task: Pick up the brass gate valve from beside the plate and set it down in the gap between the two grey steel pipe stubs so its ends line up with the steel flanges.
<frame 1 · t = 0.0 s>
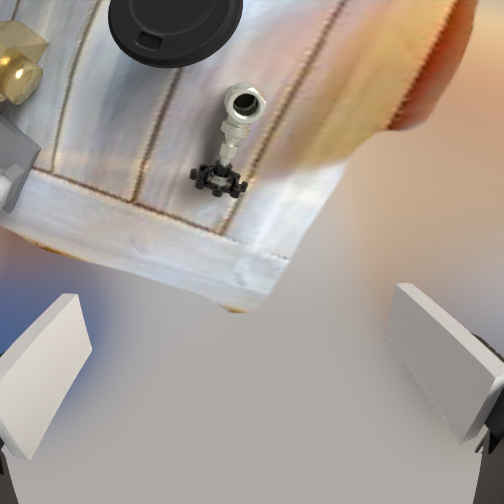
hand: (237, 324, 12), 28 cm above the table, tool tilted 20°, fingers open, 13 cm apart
coffee cup: (194, 24, 26), on the table
valve: (232, 127, 34), on the table
brass gate valve: (17, 57, 24), on the table
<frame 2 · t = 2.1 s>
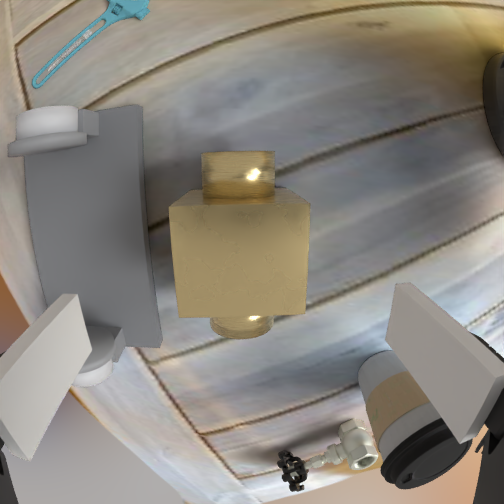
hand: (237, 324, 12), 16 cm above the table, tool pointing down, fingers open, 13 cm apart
coffee cup: (380, 369, 33), on the table
pipe run plate: (89, 235, 26), on the table
valve: (324, 437, 36), on the table
brass gate valve: (239, 228, 27), on the table
adjustable wrench: (87, 39, 21), on the table
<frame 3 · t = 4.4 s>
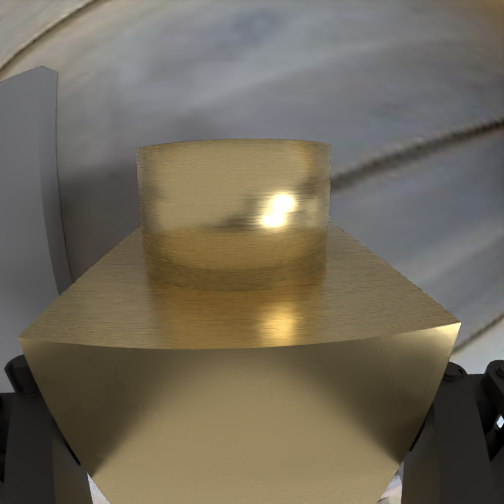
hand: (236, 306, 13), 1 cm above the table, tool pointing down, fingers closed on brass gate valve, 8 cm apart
brass gate valve: (236, 298, 14), on the table, touching gripper
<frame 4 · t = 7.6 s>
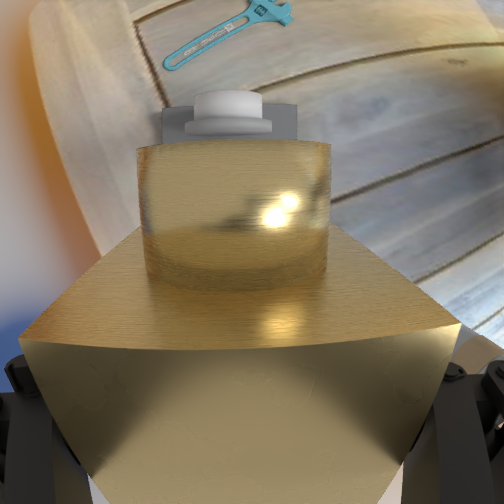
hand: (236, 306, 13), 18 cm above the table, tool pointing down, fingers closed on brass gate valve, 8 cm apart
coffee cup: (449, 339, 37), on the table
pipe run plate: (231, 221, 30), on the table
brass gate valve: (236, 298, 14), point 17 cm above the table, touching gripper
adjustable wrench: (227, 32, 25), on the table
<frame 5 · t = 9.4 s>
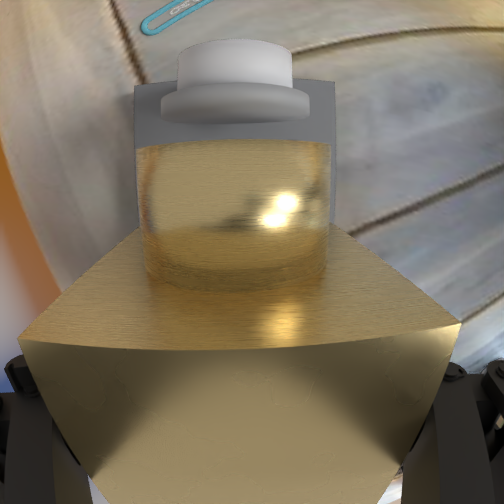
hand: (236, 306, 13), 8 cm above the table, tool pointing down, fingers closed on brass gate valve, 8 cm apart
pipe run plate: (237, 251, 21), on the table
brass gate valve: (236, 298, 14), point 7 cm above the table, touching gripper
when the fingers open (4 cm above the table, at t = 11.0 s): brass gate valve drops 2 cm, resting on pipe run plate.
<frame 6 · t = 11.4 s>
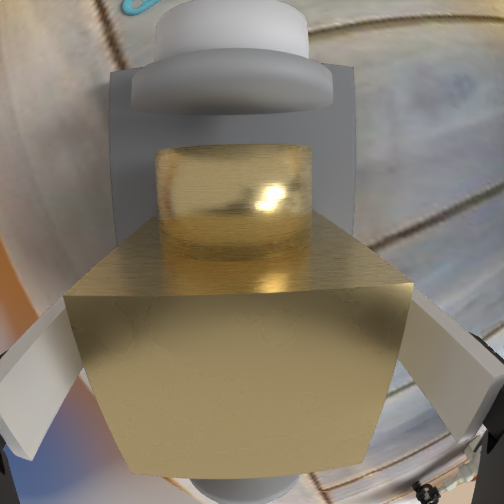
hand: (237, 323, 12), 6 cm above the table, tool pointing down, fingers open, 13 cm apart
pipe run plate: (235, 271, 17), on the table
valve: (450, 459, 28), on the table
brass gate valve: (236, 281, 16), point 1 cm above the table, touching pipe run plate
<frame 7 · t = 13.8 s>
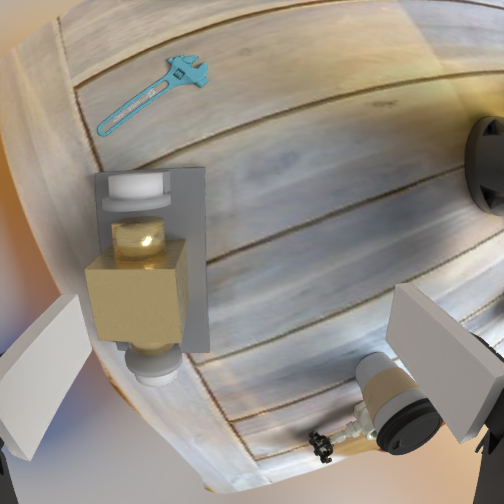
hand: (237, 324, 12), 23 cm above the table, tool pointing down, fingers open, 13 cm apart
coffee cup: (372, 366, 43), on the table
pipe run plate: (154, 266, 35), on the table
valve: (342, 417, 46), on the table
brass gate valve: (152, 270, 34), point 1 cm above the table, touching pipe run plate
adjustable wrench: (150, 97, 30), on the table
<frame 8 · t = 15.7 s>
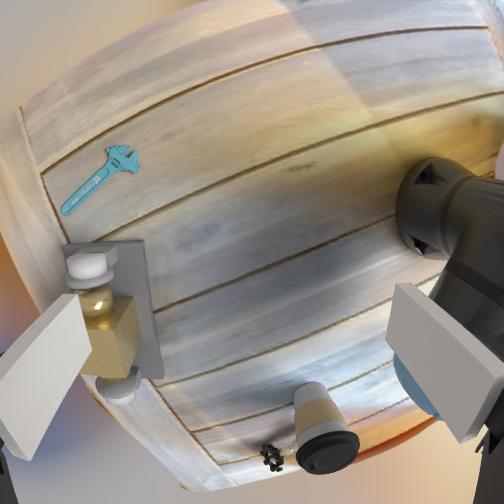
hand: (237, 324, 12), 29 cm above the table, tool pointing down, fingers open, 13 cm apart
coffee cup: (310, 393, 50), on the table
pipe run plate: (115, 313, 43), on the table
valve: (293, 433, 53), on the table
brass gate valve: (112, 318, 41), point 1 cm above the table, touching pipe run plate
adjustable wrench: (97, 182, 38), on the table
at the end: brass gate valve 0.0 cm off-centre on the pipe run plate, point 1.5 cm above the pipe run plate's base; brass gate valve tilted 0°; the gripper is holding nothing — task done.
